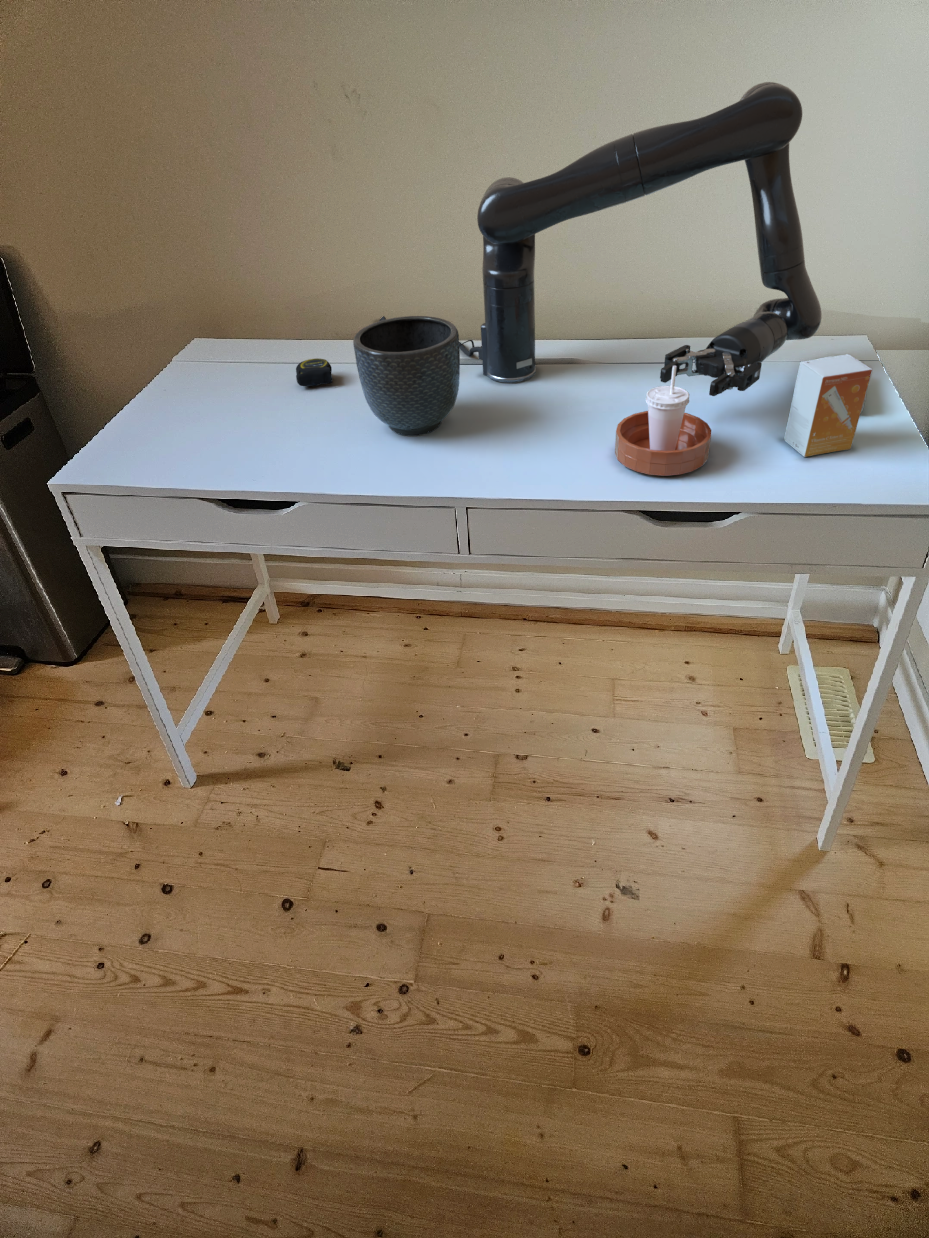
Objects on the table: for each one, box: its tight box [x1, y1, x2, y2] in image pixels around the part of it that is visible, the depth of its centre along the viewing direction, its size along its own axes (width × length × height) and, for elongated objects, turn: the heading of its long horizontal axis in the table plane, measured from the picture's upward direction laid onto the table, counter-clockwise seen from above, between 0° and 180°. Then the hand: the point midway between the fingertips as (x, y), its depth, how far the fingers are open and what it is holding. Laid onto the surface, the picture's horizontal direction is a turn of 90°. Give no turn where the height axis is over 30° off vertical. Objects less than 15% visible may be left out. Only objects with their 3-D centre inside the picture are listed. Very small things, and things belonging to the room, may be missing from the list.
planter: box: [352, 315, 461, 437], centre depth 137 cm, size 17×17×16 cm
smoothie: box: [645, 366, 690, 451], centre depth 123 cm, size 6×6×14 cm
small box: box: [783, 353, 873, 458], centre depth 123 cm, size 8×6×13 cm
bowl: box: [614, 410, 712, 477], centre depth 126 cm, size 14×14×4 cm
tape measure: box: [295, 358, 333, 387], centre depth 158 cm, size 7×7×4 cm
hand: (686, 383), depth 124 cm, fingers open, 8 cm apart
